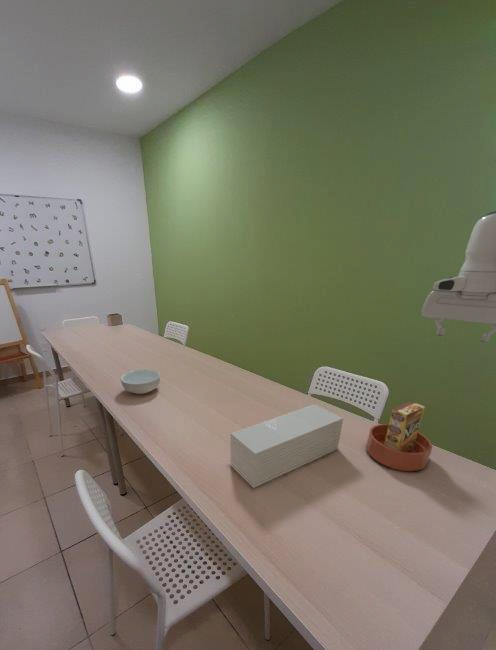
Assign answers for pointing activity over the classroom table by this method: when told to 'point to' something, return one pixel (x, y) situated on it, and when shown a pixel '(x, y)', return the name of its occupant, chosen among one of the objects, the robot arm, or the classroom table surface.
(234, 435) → the pale grey rectangular box
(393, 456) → the pot
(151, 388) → the cereal bowl
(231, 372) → the classroom table surface
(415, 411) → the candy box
